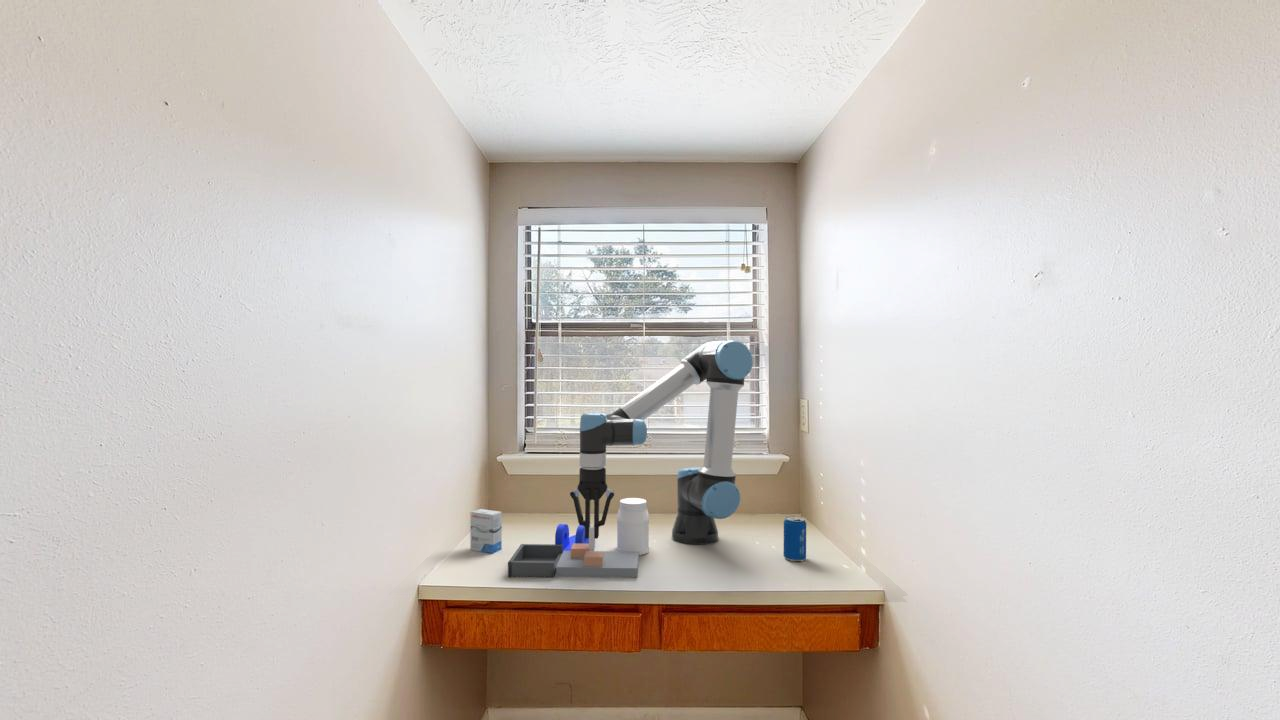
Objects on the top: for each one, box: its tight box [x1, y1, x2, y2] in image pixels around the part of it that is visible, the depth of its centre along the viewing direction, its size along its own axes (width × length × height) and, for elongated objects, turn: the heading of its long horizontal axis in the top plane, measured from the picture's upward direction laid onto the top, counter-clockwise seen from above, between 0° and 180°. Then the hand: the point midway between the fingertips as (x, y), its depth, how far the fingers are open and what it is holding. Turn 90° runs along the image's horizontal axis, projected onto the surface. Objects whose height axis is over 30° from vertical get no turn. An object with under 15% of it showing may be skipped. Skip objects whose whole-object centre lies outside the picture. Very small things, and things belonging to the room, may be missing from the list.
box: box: [507, 543, 563, 579], centre depth 170 cm, size 12×16×4 cm
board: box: [555, 550, 640, 578], centre depth 170 cm, size 22×14×2 cm, turn 89°
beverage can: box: [783, 515, 807, 562], centre depth 179 cm, size 6×6×12 cm
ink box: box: [469, 508, 503, 554], centre depth 186 cm, size 8×5×12 cm, turn 65°
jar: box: [616, 497, 650, 556], centre depth 187 cm, size 12×10×15 cm
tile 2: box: [584, 550, 605, 567], centre depth 167 cm, size 5×5×2 cm
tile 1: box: [571, 543, 589, 558], centre depth 174 cm, size 5×5×2 cm
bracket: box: [554, 523, 589, 551], centre depth 187 cm, size 18×8×9 cm, turn 169°
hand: (591, 549), depth 174 cm, fingers closed
